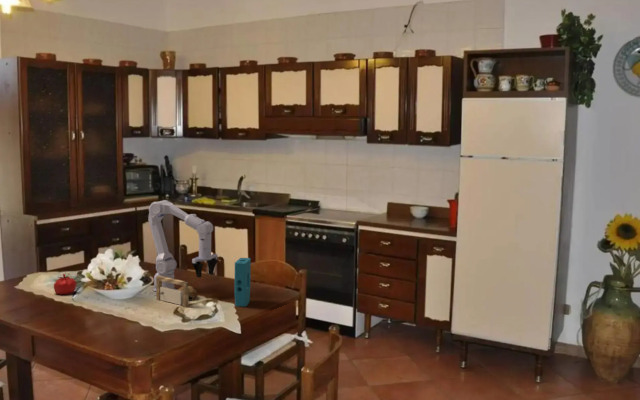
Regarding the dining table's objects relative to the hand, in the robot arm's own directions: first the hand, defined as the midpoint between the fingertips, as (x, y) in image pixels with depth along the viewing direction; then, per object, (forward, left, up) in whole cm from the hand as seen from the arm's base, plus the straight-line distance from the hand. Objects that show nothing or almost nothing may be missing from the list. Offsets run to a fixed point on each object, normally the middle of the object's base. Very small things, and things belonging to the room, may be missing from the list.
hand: (204, 275), depth 287 cm
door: (-2, -19, -9) cm, 21 cm away
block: (+23, +1, -10) cm, 25 cm away
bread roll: (-3, -9, -10) cm, 14 cm away
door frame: (-2, -18, -10) cm, 21 cm away
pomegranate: (-54, -38, -10) cm, 67 cm away
